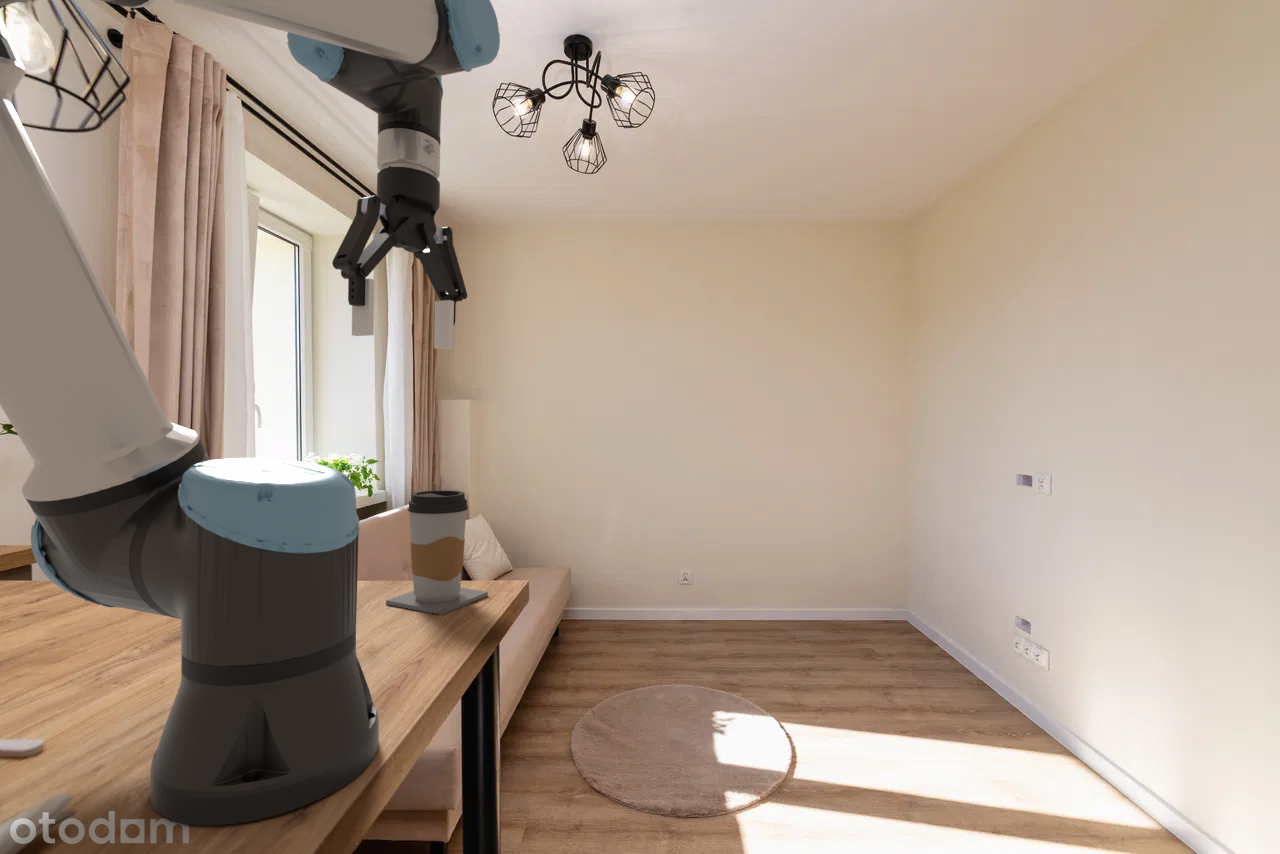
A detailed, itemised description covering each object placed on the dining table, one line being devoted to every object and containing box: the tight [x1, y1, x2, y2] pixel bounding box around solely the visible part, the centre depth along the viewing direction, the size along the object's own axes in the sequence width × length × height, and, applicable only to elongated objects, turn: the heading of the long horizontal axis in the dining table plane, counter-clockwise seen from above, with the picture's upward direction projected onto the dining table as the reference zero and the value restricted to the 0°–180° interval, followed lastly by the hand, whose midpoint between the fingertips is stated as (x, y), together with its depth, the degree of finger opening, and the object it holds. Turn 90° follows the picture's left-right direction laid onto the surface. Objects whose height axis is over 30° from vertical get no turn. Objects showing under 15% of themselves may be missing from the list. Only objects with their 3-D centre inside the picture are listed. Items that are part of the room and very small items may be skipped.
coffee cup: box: [407, 489, 469, 603], centre depth 90 cm, size 8×8×15 cm
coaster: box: [385, 586, 489, 616], centre depth 91 cm, size 10×10×1 cm
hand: (406, 342), depth 80 cm, fingers open, 13 cm apart
